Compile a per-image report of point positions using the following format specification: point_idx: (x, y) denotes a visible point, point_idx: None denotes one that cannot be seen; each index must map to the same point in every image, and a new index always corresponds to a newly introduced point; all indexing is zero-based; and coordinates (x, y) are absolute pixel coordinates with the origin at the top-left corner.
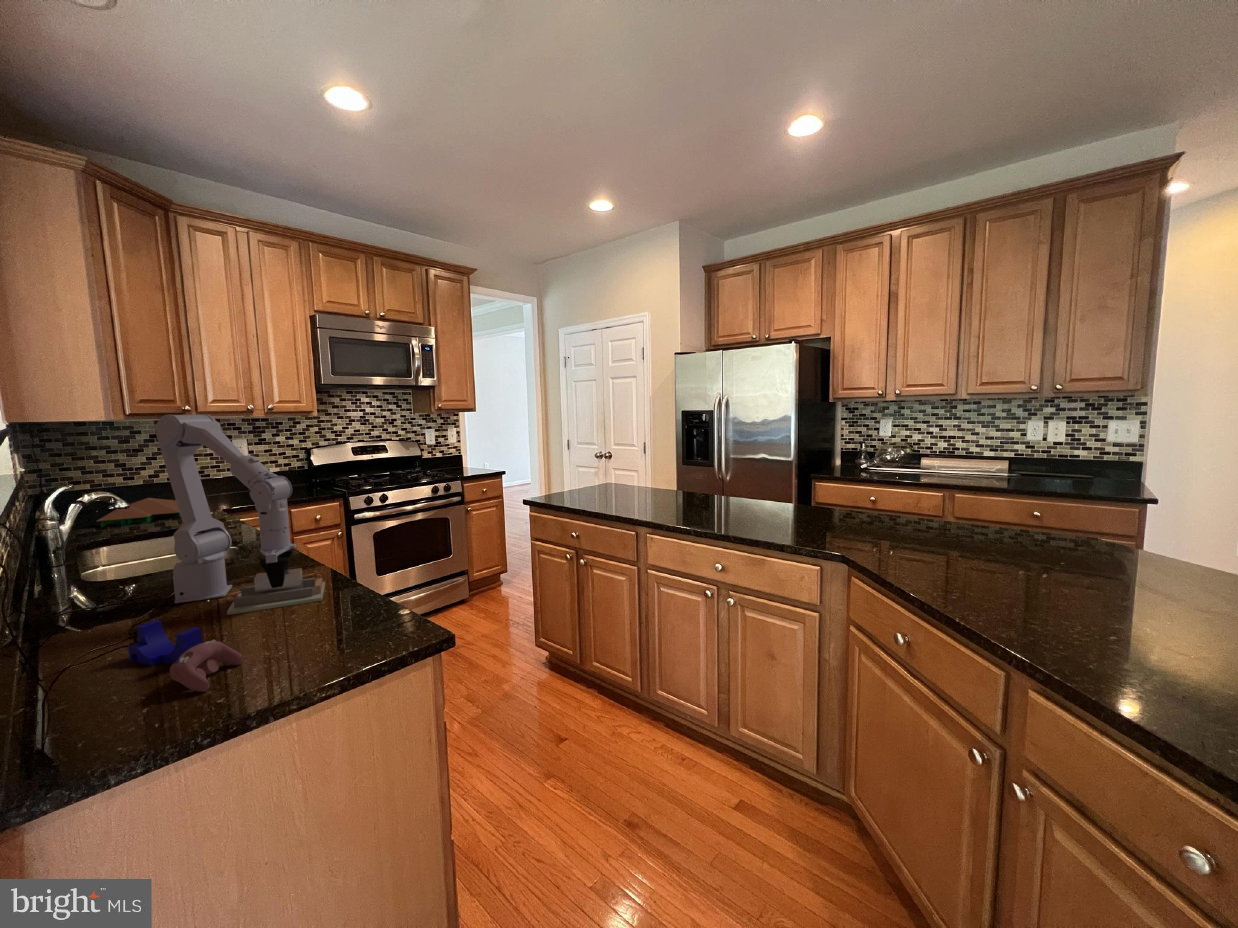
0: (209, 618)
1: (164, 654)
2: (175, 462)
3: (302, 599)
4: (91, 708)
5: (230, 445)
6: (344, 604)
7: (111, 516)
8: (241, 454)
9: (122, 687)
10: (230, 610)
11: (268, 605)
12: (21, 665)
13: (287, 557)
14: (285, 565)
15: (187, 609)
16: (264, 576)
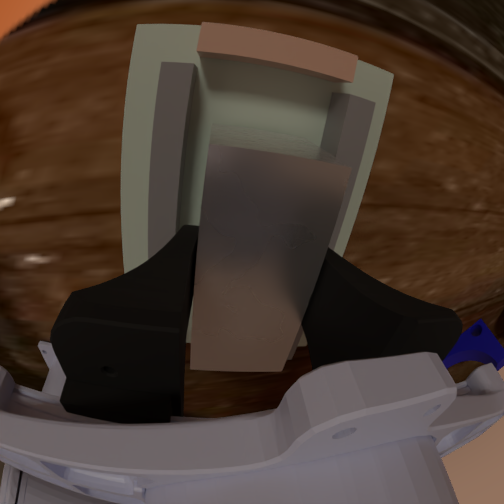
0: (297, 362)
1: (449, 365)
2: None
3: (366, 141)
4: (477, 367)
5: None
6: (459, 37)
7: None
8: None
9: (465, 365)
10: (303, 340)
11: (341, 255)
12: None
13: (413, 333)
14: (421, 301)
15: (190, 397)
16: (276, 343)
